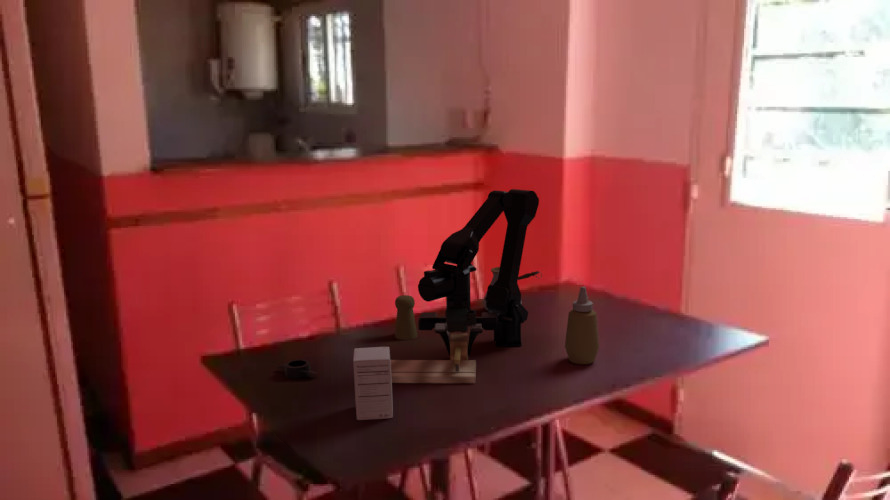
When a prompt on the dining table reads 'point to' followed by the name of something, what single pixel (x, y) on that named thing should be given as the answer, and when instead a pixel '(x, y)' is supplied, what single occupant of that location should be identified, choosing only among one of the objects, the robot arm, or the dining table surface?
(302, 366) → the dark ring with tabs
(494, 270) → the coffee pot
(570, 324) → the squeeze bottle
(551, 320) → the dining table surface
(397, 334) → the cork
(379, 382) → the supplement box
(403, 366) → the board
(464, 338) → the gauge
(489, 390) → the dining table surface
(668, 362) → the dining table surface
